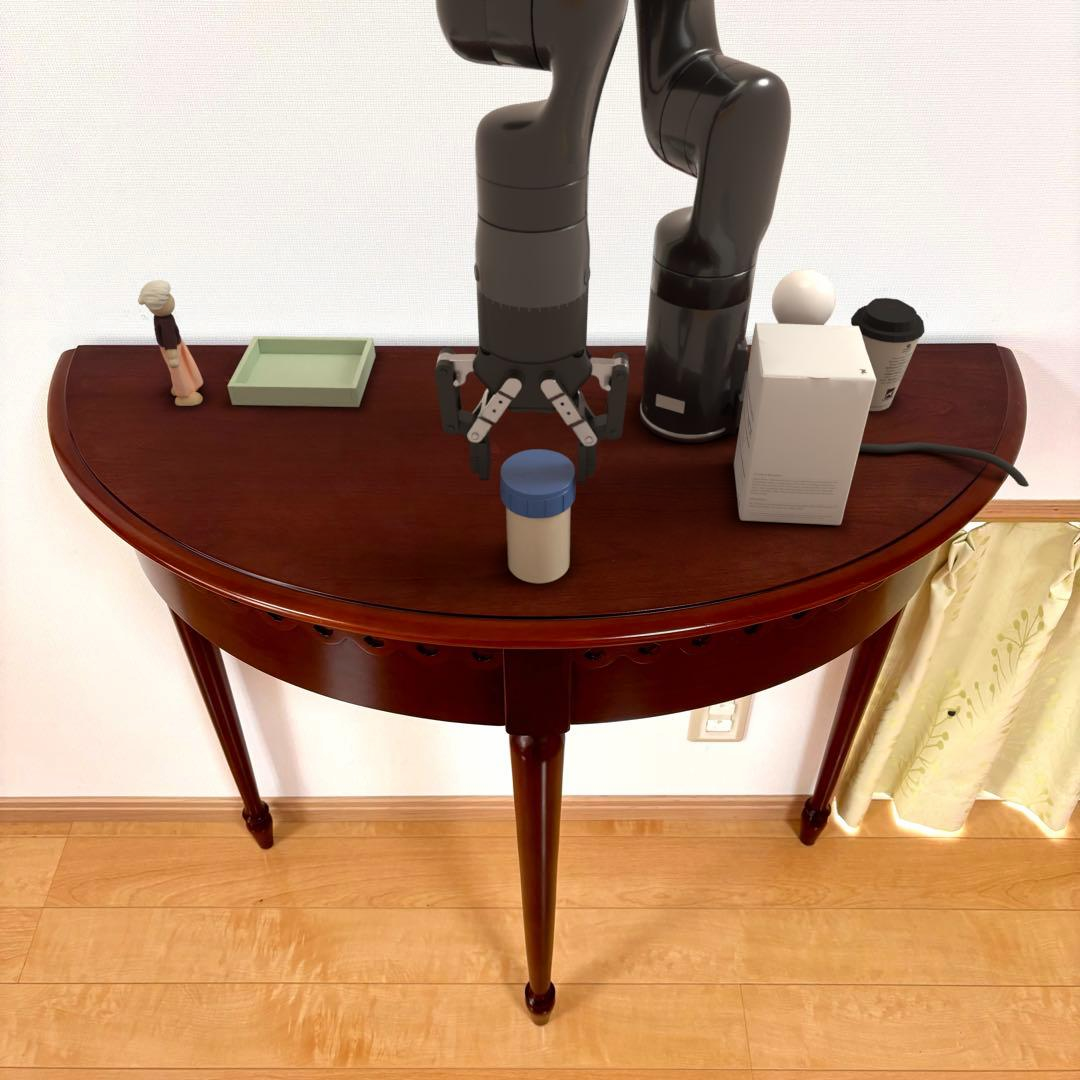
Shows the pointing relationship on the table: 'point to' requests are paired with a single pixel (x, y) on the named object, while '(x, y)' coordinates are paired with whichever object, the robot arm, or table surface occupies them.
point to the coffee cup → (888, 343)
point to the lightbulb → (803, 298)
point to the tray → (303, 371)
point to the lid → (537, 483)
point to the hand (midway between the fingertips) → (532, 475)
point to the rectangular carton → (801, 422)
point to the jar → (538, 546)
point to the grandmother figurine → (172, 343)
